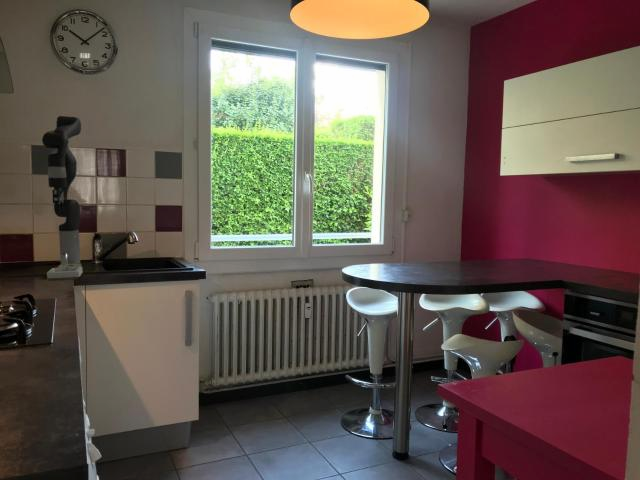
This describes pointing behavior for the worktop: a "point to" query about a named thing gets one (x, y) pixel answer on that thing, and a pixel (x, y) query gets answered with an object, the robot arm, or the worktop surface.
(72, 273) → the tray
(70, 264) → the pin block
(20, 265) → the worktop surface
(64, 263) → the pin
